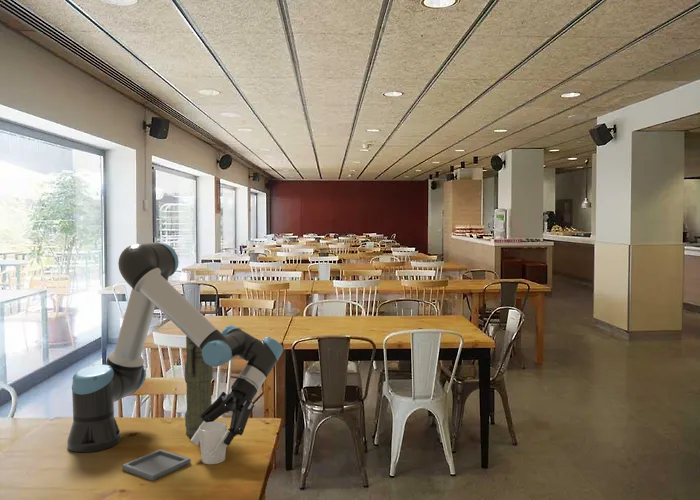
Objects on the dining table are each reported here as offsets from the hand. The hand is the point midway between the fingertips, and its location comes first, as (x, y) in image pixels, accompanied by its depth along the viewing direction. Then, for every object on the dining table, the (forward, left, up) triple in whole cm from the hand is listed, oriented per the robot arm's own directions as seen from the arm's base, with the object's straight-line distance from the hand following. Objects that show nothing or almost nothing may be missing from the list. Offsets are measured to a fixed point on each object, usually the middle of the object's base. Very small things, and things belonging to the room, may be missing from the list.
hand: (205, 448), depth 162 cm
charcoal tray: (-10, -9, -4) cm, 14 cm away
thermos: (-20, +16, -4) cm, 25 cm away
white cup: (0, +3, -4) cm, 5 cm away
